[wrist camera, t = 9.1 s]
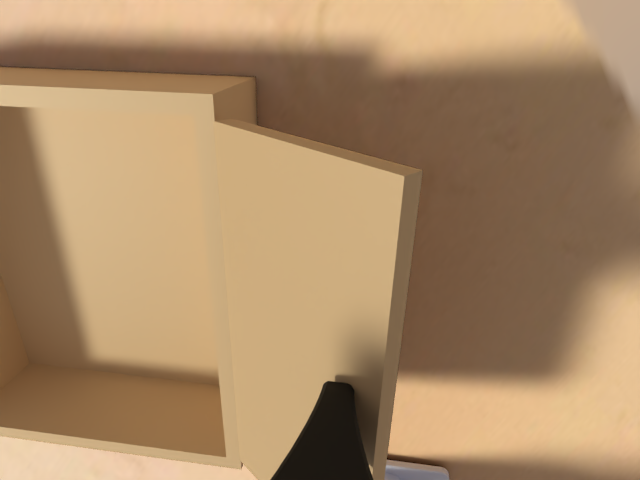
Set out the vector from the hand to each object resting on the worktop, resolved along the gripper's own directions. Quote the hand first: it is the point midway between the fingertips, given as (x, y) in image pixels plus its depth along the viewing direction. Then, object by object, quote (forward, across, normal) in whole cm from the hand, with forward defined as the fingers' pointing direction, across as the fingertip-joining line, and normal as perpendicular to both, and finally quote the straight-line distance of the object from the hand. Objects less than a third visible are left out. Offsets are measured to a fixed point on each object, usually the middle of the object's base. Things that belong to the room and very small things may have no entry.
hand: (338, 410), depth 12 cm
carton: (+8, +11, 0) cm, 13 cm away
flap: (+1, +2, 0) cm, 2 cm away
